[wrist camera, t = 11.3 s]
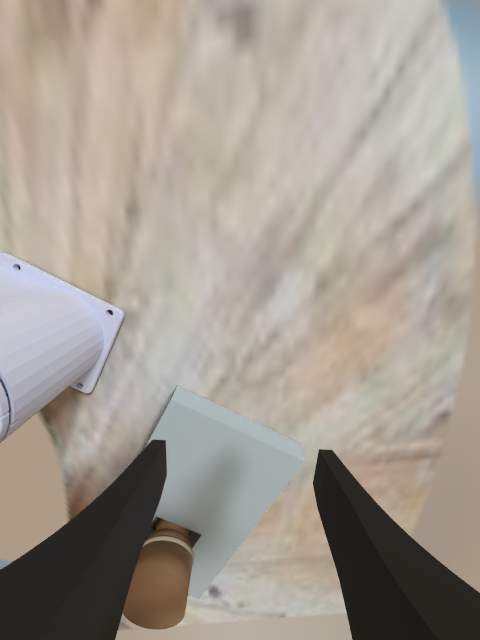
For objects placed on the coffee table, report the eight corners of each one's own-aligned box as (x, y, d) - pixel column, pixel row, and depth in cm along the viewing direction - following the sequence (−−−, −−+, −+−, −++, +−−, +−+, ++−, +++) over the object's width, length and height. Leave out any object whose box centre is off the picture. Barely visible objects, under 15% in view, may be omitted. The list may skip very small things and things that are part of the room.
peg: (142, 507, 26) (108, 597, 19) (186, 493, 25) (166, 581, 19) (165, 540, 27) (140, 635, 21) (208, 527, 26) (196, 621, 20)
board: (97, 535, 27) (86, 557, 25) (177, 385, 22) (171, 399, 20) (202, 574, 28) (199, 598, 27) (300, 443, 23) (305, 461, 21)
